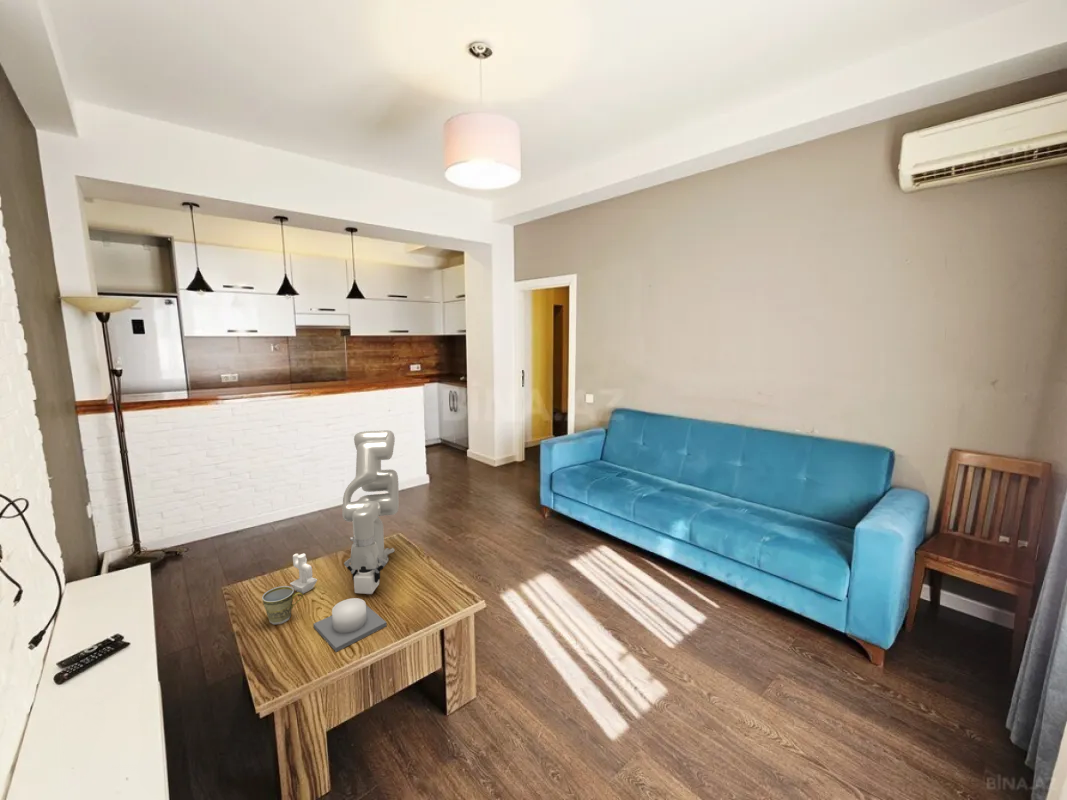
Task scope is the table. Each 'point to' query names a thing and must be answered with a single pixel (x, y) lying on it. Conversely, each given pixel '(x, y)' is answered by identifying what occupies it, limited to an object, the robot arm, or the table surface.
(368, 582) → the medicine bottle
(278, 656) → the table surface
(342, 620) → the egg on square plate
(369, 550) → the robot arm
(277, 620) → the ceramic cup
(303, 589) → the figurine
